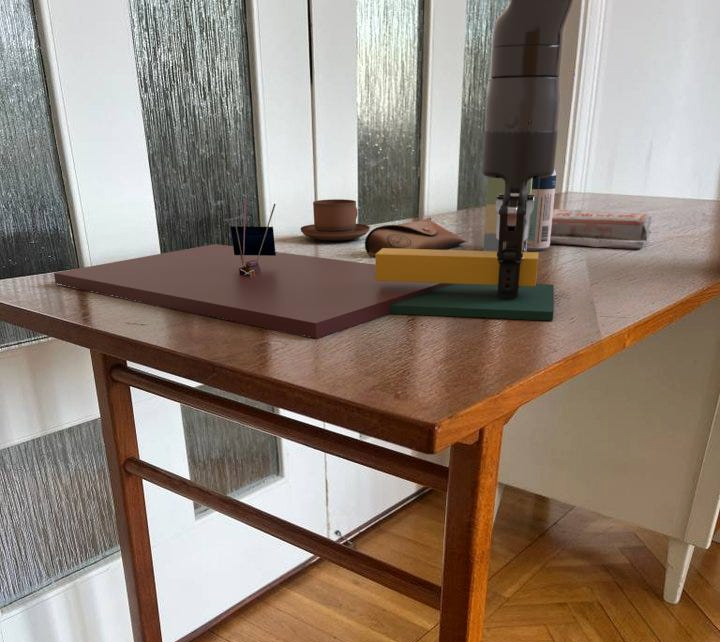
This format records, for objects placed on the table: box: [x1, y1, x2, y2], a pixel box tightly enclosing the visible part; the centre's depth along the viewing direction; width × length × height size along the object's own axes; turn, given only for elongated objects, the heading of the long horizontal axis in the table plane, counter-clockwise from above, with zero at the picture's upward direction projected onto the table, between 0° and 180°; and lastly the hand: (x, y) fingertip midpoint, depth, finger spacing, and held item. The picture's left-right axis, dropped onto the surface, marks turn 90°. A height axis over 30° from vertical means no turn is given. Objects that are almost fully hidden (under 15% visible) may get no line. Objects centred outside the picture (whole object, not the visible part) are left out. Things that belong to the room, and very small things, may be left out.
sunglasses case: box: [364, 216, 467, 257], centre depth 120 cm, size 18×7×7 cm
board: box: [53, 198, 452, 339], centre depth 94 cm, size 45×28×10 cm, turn 52°
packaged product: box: [550, 208, 652, 250], centre depth 124 cm, size 18×5×10 cm
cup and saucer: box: [300, 198, 371, 242], centre depth 130 cm, size 12×12×6 cm
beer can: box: [526, 168, 557, 252], centre depth 117 cm, size 5×5×12 cm
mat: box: [389, 283, 555, 321], centre depth 87 cm, size 22×14×1 cm, turn 77°
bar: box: [374, 248, 540, 287], centre depth 86 cm, size 18×4×3 cm, turn 77°
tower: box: [483, 177, 533, 252], centre depth 109 cm, size 6×6×12 cm
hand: (508, 293), depth 86 cm, fingers closed on bar, 3 cm apart
